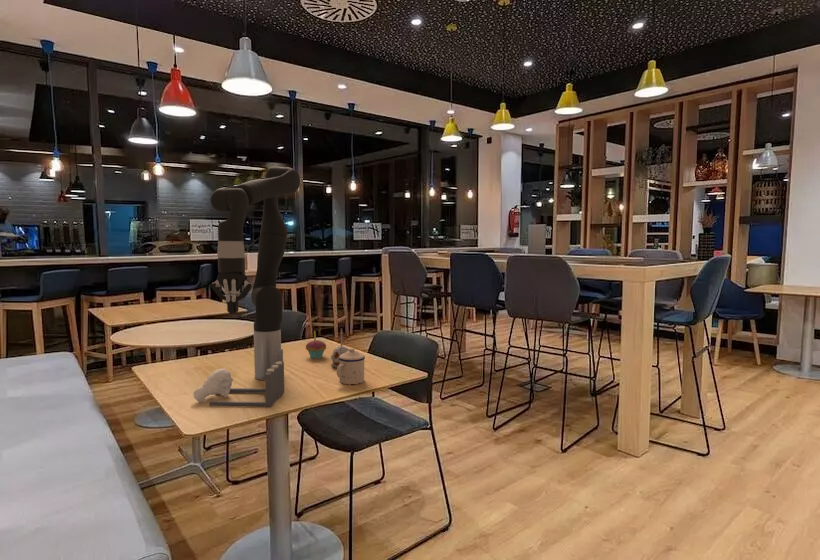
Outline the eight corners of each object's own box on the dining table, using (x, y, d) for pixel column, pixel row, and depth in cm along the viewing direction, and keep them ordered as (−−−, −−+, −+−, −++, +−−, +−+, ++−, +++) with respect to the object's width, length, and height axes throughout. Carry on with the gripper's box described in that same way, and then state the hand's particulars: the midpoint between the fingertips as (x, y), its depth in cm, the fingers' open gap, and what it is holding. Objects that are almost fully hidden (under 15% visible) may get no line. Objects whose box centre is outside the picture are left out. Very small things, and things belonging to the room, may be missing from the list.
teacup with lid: (350, 375, 168) (350, 344, 167) (370, 380, 163) (370, 347, 162) (327, 384, 158) (327, 351, 157) (347, 389, 153) (347, 354, 152)
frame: (285, 391, 150) (284, 359, 149) (271, 407, 136) (270, 372, 135) (227, 391, 151) (227, 359, 150) (208, 406, 137) (207, 371, 136)
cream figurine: (233, 368, 146) (198, 381, 136) (236, 393, 147) (202, 408, 137) (221, 365, 149) (186, 377, 139) (224, 390, 151) (189, 404, 141)
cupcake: (324, 360, 190) (323, 331, 189) (303, 359, 190) (303, 331, 189) (328, 354, 198) (327, 327, 197) (308, 354, 198) (307, 327, 197)
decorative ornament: (328, 365, 182) (328, 327, 181) (346, 362, 186) (346, 326, 185) (336, 370, 176) (335, 331, 174) (354, 367, 179) (354, 329, 178)
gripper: (257, 256, 141) (259, 312, 143) (214, 255, 141) (216, 311, 143) (248, 257, 134) (250, 316, 135) (203, 256, 134) (205, 315, 135)
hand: (232, 313), depth 139 cm, fingers closed
